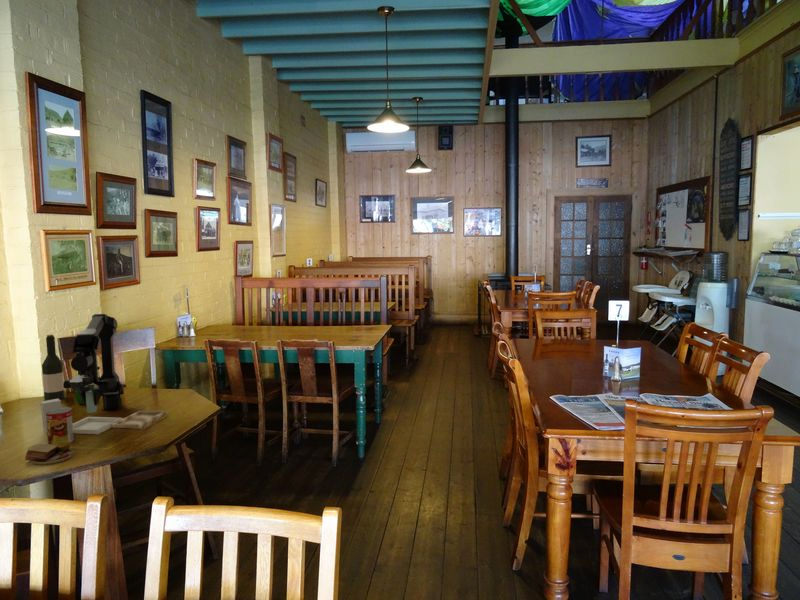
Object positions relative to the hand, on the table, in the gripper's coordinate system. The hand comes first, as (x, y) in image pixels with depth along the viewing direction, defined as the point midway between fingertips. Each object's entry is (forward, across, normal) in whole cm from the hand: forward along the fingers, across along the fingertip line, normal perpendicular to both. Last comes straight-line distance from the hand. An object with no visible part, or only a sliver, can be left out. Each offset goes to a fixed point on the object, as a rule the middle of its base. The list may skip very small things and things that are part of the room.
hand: (91, 405), depth 219 cm
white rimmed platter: (+9, 0, 0) cm, 9 cm away
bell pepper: (+9, -27, +32) cm, 43 cm away
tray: (+9, +14, +9) cm, 19 cm away
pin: (+3, 0, 0) cm, 3 cm away
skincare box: (+9, -13, -5) cm, 17 cm away
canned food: (+9, -1, -16) cm, 19 cm away
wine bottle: (+9, -46, +37) cm, 60 cm away
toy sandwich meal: (+10, +6, -30) cm, 33 cm away
